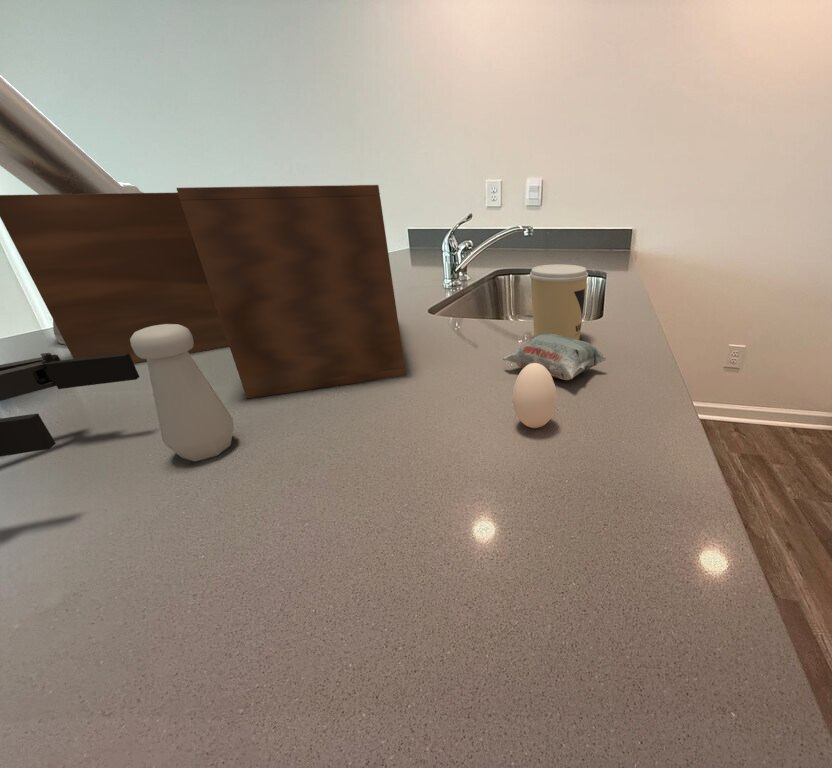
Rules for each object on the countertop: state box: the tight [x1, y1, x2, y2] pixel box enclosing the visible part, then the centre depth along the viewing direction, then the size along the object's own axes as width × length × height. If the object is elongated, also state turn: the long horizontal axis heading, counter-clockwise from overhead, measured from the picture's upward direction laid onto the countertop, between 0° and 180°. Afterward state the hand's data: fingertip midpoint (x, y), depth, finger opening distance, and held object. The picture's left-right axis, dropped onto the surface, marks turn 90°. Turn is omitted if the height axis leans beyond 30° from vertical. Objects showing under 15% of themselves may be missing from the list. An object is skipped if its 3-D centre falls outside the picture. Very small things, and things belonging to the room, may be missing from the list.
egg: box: [512, 363, 558, 429], centre depth 43 cm, size 5×5×7 cm
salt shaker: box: [130, 324, 234, 462], centre depth 39 cm, size 6×6×13 cm
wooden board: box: [175, 184, 407, 399], centre depth 61 cm, size 20×26×24 cm
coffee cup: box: [529, 263, 589, 340], centre depth 68 cm, size 9×9×12 cm
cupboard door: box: [0, 191, 229, 364], centre depth 65 cm, size 7×26×24 cm, turn 125°
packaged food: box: [502, 334, 607, 381], centre depth 57 cm, size 9×12×5 cm
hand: (96, 393), depth 37 cm, fingers open, 13 cm apart
